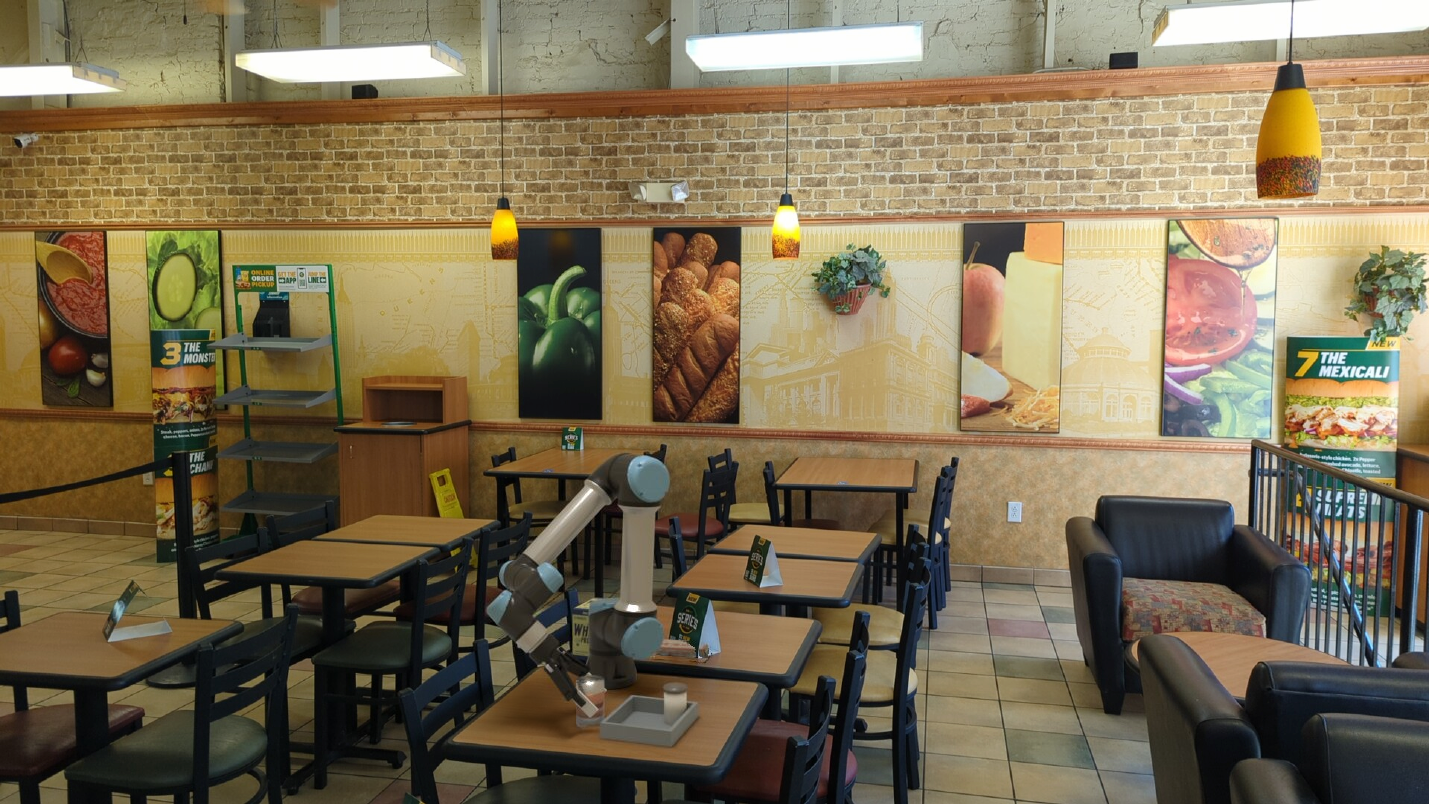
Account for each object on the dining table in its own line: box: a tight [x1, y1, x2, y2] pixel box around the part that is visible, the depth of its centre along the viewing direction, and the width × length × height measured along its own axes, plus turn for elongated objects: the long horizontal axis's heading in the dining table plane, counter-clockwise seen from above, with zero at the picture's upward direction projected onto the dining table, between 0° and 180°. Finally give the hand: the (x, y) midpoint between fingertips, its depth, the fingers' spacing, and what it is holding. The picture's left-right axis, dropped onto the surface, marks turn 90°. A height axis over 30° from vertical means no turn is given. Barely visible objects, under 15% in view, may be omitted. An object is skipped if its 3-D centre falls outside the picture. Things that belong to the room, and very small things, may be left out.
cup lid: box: [662, 682, 688, 694], centre depth 245 cm, size 6×6×1 cm
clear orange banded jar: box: [575, 675, 606, 729], centre depth 246 cm, size 7×7×11 cm
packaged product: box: [651, 638, 709, 662], centre depth 300 cm, size 18×5×10 cm
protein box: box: [572, 596, 607, 662], centre depth 302 cm, size 10×16×16 cm
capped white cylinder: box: [663, 690, 688, 725], centre depth 245 cm, size 6×6×8 cm
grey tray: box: [599, 694, 699, 748], centre depth 241 cm, size 18×20×4 cm
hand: (598, 703), depth 246 cm, fingers open, 13 cm apart
